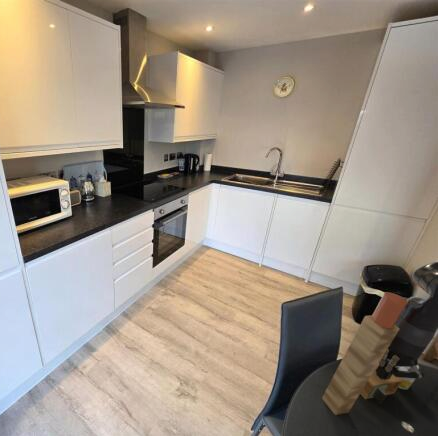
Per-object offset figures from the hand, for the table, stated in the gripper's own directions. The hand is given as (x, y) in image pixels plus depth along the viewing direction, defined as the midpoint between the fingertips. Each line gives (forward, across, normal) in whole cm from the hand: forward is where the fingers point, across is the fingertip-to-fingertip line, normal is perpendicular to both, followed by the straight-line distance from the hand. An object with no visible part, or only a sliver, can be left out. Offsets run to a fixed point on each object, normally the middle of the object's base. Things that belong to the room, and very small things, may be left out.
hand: (381, 376), depth 72 cm
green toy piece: (+13, +1, -7) cm, 15 cm away
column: (+14, +2, +8) cm, 17 cm away
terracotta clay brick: (-21, +2, +9) cm, 22 cm away
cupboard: (+14, +5, -10) cm, 18 cm away
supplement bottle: (+14, +5, -22) cm, 26 cm away
